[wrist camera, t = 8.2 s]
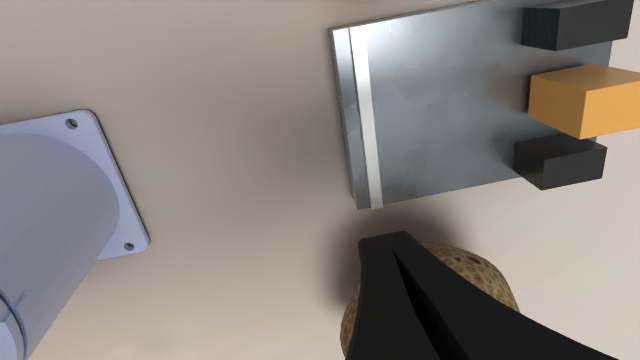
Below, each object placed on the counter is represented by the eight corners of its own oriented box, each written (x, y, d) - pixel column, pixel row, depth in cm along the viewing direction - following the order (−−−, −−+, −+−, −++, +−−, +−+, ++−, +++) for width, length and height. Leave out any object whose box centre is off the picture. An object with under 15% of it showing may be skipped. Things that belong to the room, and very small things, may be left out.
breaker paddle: (528, 116, 19) (579, 139, 16) (531, 75, 18) (586, 91, 15) (586, 104, 19) (649, 125, 16) (592, 63, 18) (660, 76, 15)
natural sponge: (498, 228, 24) (635, 366, 15) (426, 330, 27) (504, 495, 18) (370, 181, 21) (441, 312, 12) (308, 299, 24) (329, 472, 15)
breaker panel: (352, 196, 22) (367, 234, 18) (328, 28, 18) (342, 34, 14) (572, 152, 22) (629, 181, 18) (596, -22, 18) (674, -27, 15)
